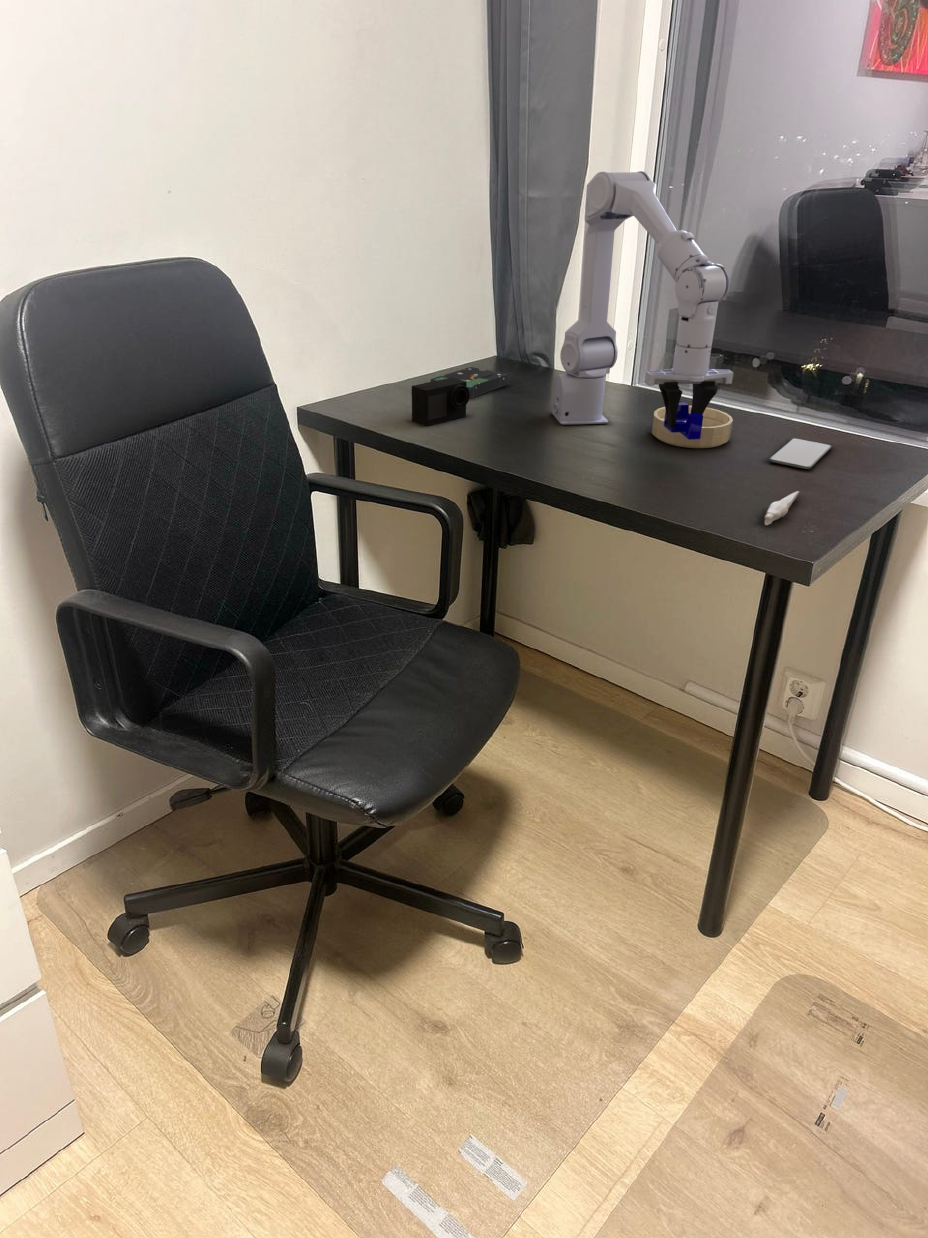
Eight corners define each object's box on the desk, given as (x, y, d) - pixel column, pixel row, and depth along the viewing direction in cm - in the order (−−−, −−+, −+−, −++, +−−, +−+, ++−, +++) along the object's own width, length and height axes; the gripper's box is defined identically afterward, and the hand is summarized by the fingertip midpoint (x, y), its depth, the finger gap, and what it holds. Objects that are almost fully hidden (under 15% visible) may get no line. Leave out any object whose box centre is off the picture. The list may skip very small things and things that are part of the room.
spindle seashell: (773, 528, 127) (776, 516, 126) (756, 524, 129) (758, 512, 128) (806, 498, 138) (808, 487, 137) (789, 494, 139) (791, 483, 138)
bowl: (666, 450, 157) (669, 428, 155) (641, 426, 169) (643, 406, 167) (741, 448, 159) (745, 426, 157) (711, 424, 171) (714, 404, 169)
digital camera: (429, 428, 166) (429, 391, 163) (411, 421, 170) (411, 385, 166) (470, 418, 172) (471, 382, 169) (452, 411, 176) (452, 376, 172)
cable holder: (663, 425, 154) (666, 402, 152) (682, 424, 154) (685, 402, 152) (680, 439, 147) (683, 416, 145) (700, 439, 147) (703, 415, 145)
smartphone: (832, 444, 159) (809, 467, 149) (831, 447, 160) (808, 470, 149) (793, 437, 163) (768, 458, 152) (793, 440, 163) (768, 461, 152)
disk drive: (469, 378, 199) (429, 391, 188) (470, 366, 197) (429, 378, 187) (507, 386, 194) (468, 399, 183) (508, 373, 192) (469, 386, 182)
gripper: (659, 350, 139) (649, 434, 145) (746, 349, 141) (731, 431, 147) (644, 341, 145) (635, 421, 152) (728, 339, 147) (715, 419, 154)
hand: (681, 426), depth 150 cm, fingers closed on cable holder, 3 cm apart
